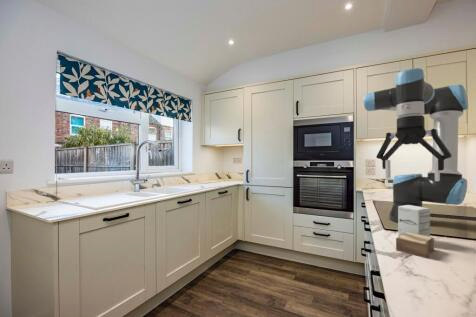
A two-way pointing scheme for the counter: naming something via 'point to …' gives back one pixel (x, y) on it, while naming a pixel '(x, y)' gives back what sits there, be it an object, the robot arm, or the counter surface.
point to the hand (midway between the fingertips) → (411, 179)
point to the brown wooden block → (415, 244)
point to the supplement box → (413, 220)
